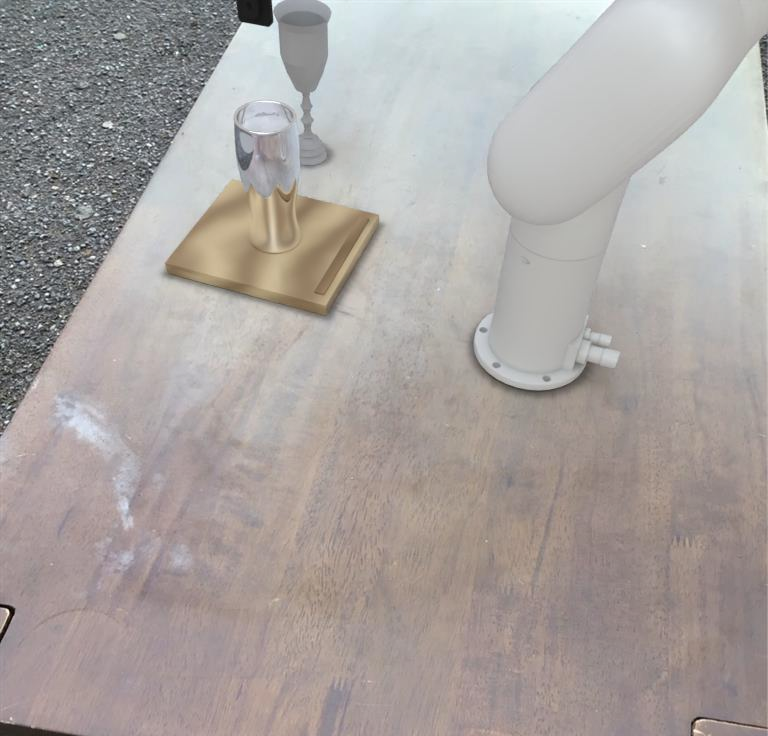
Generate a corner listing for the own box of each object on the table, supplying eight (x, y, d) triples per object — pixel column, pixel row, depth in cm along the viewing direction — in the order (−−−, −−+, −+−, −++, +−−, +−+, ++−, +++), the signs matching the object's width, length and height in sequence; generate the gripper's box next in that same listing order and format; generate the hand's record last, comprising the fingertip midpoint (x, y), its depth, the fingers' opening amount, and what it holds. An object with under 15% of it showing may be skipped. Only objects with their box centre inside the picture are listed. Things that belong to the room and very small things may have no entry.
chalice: (341, 164, 109) (340, 21, 95) (293, 174, 108) (284, 30, 93) (323, 136, 113) (319, -6, 98) (276, 144, 112) (265, 2, 97)
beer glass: (296, 260, 95) (288, 138, 83) (238, 251, 96) (222, 129, 84) (311, 224, 99) (305, 103, 87) (255, 216, 100) (242, 94, 88)
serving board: (379, 225, 102) (379, 212, 101) (326, 315, 92) (325, 303, 91) (233, 189, 105) (231, 176, 104) (167, 273, 95) (164, 261, 94)
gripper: (257, -209, 56) (278, 49, 70) (344, -268, 66) (348, -30, 80) (159, -222, 58) (199, 34, 72) (259, -278, 67) (277, -42, 81)
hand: (277, 0), depth 76 cm, fingers open, 9 cm apart
